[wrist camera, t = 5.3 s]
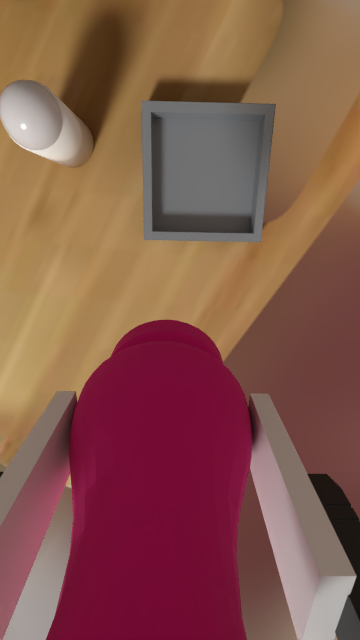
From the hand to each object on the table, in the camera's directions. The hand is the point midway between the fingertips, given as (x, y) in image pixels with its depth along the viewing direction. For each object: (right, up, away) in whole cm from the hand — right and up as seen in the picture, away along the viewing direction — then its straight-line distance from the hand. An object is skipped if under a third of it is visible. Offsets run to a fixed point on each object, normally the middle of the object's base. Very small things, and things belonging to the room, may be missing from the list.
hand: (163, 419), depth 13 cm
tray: (+3, +18, +17) cm, 25 cm away
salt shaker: (-10, +21, +16) cm, 29 cm away
